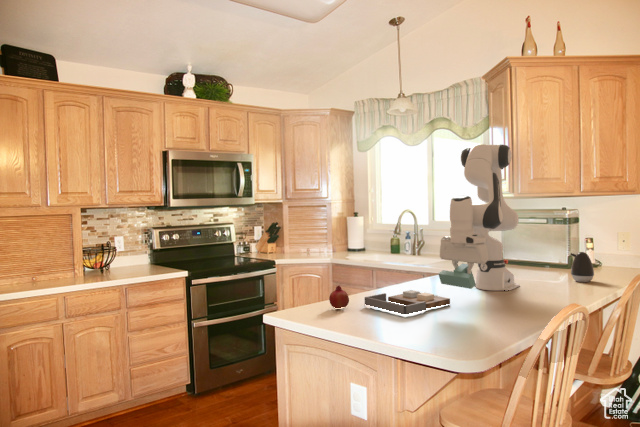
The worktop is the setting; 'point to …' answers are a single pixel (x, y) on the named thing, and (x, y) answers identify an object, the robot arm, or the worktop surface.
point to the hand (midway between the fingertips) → (463, 272)
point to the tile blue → (410, 293)
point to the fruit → (339, 298)
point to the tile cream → (425, 296)
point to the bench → (407, 301)
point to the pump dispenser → (582, 268)
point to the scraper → (458, 277)
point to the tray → (393, 304)
